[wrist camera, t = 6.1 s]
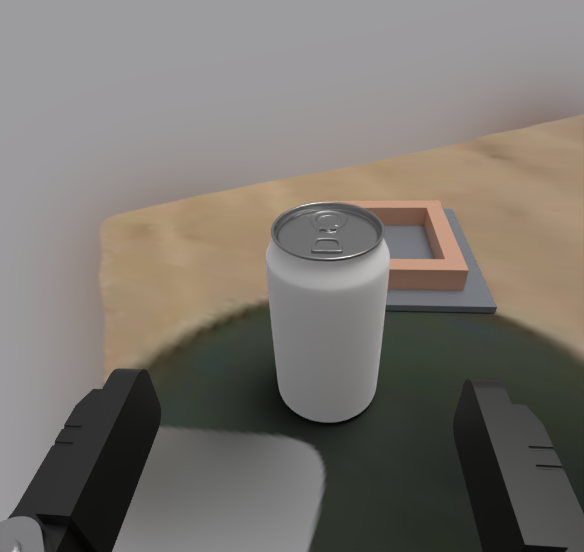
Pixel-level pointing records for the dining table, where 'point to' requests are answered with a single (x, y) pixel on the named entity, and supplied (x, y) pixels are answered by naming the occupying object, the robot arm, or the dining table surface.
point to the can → (327, 307)
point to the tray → (429, 259)
